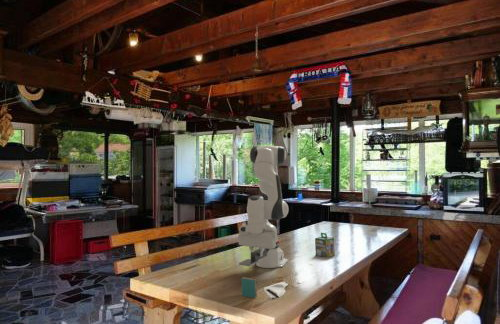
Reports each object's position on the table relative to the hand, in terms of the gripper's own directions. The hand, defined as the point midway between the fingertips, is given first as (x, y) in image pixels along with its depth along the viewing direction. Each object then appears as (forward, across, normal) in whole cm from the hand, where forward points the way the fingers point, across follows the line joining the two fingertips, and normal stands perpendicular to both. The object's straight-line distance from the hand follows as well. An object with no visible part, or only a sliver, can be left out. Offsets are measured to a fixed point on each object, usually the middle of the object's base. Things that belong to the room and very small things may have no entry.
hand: (257, 255), depth 176 cm
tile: (+14, -4, +15) cm, 21 cm away
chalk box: (+16, -10, -71) cm, 74 cm away
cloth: (+15, -12, +2) cm, 19 cm away
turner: (+2, 0, +1) cm, 2 cm away
